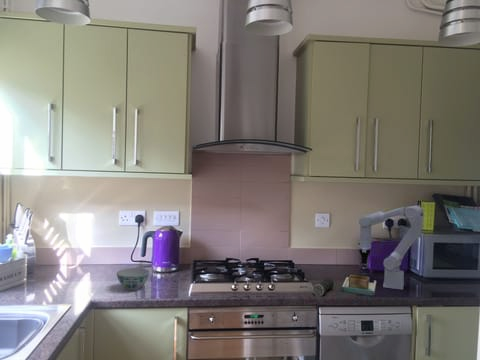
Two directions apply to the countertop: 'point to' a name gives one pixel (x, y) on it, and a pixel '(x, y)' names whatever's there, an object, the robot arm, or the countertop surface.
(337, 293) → the countertop surface
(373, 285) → the tray
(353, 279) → the crate
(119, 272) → the chinaware
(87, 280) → the countertop surface
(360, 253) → the robot arm
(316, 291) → the flashlight
